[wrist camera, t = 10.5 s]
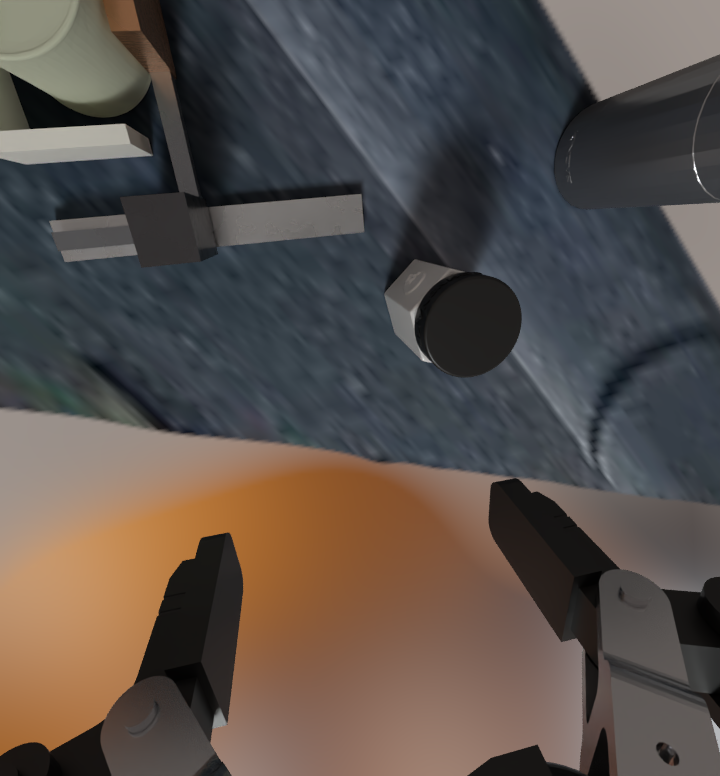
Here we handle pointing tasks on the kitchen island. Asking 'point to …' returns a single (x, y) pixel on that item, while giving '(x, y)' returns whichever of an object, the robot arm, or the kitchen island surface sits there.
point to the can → (71, 55)
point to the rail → (244, 223)
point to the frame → (60, 136)
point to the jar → (454, 317)
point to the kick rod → (187, 207)
